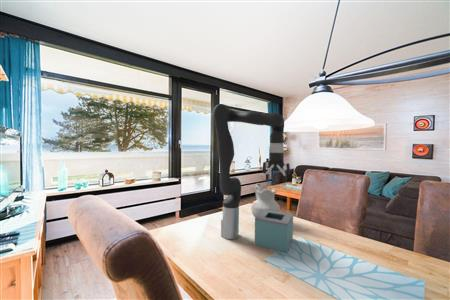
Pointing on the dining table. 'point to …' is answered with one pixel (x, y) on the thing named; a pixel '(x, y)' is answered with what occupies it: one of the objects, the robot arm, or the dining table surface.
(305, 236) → the dining table surface
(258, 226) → the box
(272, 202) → the ceramic pitcher
